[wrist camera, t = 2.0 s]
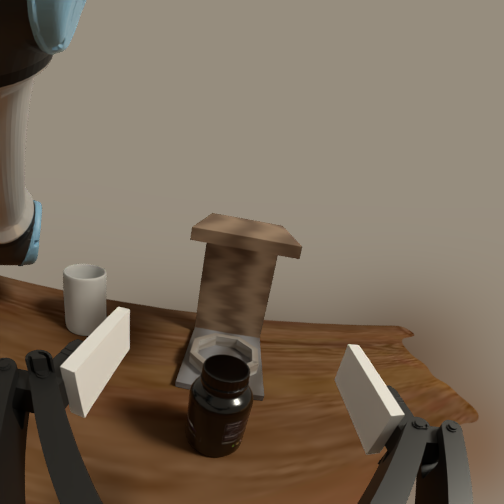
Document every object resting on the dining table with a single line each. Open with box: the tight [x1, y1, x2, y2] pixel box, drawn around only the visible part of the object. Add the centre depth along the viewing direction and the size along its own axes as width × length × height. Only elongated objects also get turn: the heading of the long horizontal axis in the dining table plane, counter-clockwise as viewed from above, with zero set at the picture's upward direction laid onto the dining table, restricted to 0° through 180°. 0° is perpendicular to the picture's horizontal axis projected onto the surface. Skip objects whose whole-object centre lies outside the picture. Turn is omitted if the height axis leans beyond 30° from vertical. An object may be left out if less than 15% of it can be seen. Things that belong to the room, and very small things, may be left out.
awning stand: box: [176, 213, 302, 401], centre depth 45 cm, size 13×20×24 cm, turn 1°
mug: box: [63, 264, 107, 336], centre depth 47 cm, size 12×8×11 cm
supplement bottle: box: [186, 354, 253, 457], centre depth 28 cm, size 7×7×12 cm
